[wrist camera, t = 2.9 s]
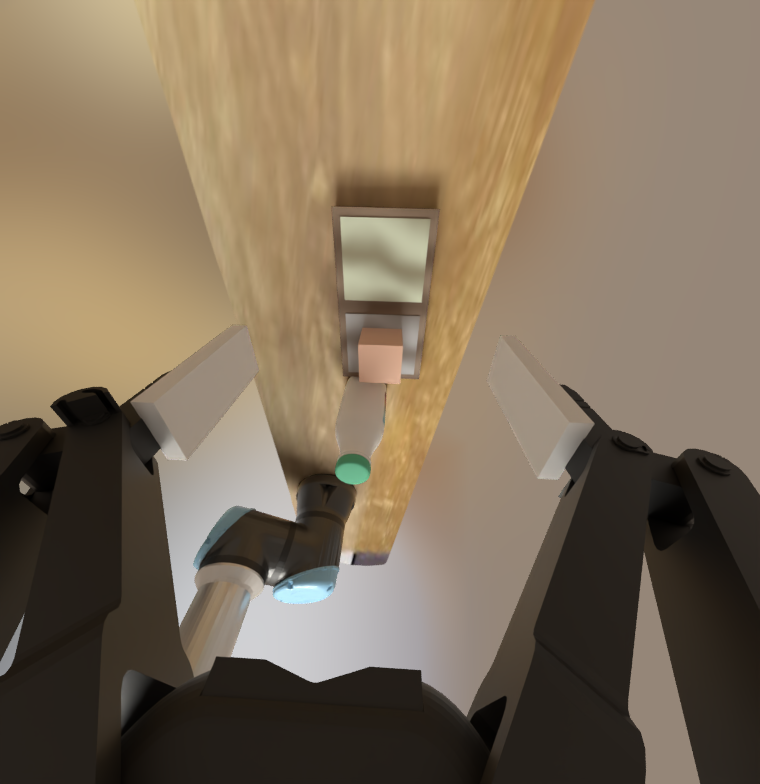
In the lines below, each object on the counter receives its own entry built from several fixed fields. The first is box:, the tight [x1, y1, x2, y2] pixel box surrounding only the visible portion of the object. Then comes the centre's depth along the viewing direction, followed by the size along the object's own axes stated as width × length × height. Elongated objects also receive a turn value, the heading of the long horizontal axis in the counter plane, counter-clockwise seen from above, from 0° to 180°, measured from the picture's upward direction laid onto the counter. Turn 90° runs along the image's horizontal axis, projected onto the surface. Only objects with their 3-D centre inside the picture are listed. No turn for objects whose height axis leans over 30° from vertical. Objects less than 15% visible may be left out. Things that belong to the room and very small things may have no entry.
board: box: [332, 206, 440, 379], centre depth 40 cm, size 24×13×3 cm, turn 179°
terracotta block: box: [358, 328, 403, 384], centre depth 40 cm, size 6×6×6 cm
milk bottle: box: [335, 377, 386, 484], centre depth 43 cm, size 8×8×20 cm
